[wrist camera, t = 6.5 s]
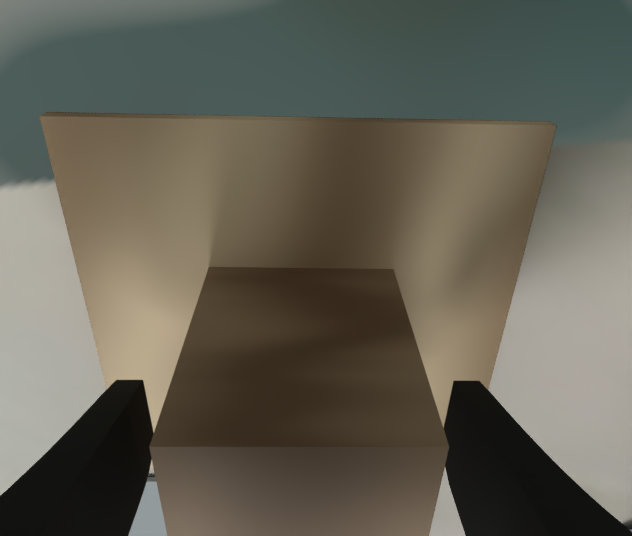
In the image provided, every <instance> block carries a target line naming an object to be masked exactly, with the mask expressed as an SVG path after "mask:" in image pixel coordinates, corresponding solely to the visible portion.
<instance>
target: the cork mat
mask: <svg viewBox="0 0 632 536" xmlns="http://www.w3.org/2000/svg"><path fill="white" fill-rule="evenodd" d="M40 121H41V125H42V129H43V133H44V137H45V141H46V145H47V149H48V153H49V157H50V161H51V165H52V169H53V174H54V178H55V182H56V186H57V190H58V194H59V198H60V202H61V206H62V210H63V214H64V218H65V222H66V226H67V230H68V234H69V238H70V242H71V246H72V250H73V255H74V259H75V263H76V267H77V271H78V275H79V279H80V283H81V287H82V291H83V295H84V299H85V303H86V307H87V311H88V315H89V319H90V323H91V327H92V331H93V336H94V340H95V344H96V348H97V352H98V356H99V360H100V364H101V368H102V372H103V376H104V380H105V384H106V388H107V389H108V388H109V387H110V386H111V384H112V383H114V382H115V381H116V380H143V382H144V387H145V392H146V397H147V402H148V407H149V412H150V417H151V422H152V428H153V433H154V431H155V428H156V425H157V422H158V419H159V416H160V413H161V410H162V407H163V404H164V401H165V398H166V395H167V392H168V389H169V386H170V383H171V380H172V377H173V374H174V371H175V368H176V365H177V362H178V359H179V356H180V353H181V350H182V346H183V343H184V340H185V337H186V334H187V331H188V328H189V325H190V322H191V319H192V316H193V313H194V310H195V307H196V304H197V301H198V298H199V295H200V292H201V289H202V286H203V283H204V280H205V277H206V274H207V271H208V268H209V267H262V268H348V269H394V273H395V276H396V279H397V282H398V285H399V288H400V292H401V295H402V298H403V301H404V304H405V308H406V311H407V314H408V317H409V320H410V323H411V327H412V330H413V333H414V336H415V339H416V343H417V346H418V349H419V352H420V355H421V358H422V362H423V365H424V368H425V371H426V374H427V378H428V381H429V384H430V387H431V390H432V394H433V397H434V400H435V403H436V406H437V409H438V413H439V416H440V419H441V422H442V425H443V428H444V423H445V419H446V414H447V409H448V405H449V400H450V395H451V391H452V386H453V381H480V382H481V383H482V384H483V385H484V386H485V387H486V388H487V390H488V388H489V384H490V381H491V377H492V373H493V369H494V365H495V361H496V358H497V354H498V350H499V346H500V342H501V338H502V335H503V331H504V327H505V323H506V319H507V315H508V312H509V308H510V304H511V300H512V296H513V292H514V289H515V285H516V281H517V277H518V273H519V269H520V266H521V262H522V258H523V254H524V250H525V246H526V243H527V239H528V235H529V231H530V227H531V223H532V220H533V216H534V212H535V208H536V204H537V200H538V197H539V193H540V189H541V185H542V181H543V177H544V174H545V170H546V166H547V162H548V158H549V154H550V151H551V147H552V143H553V139H554V135H555V131H556V128H557V125H555V124H553V123H551V122H545V121H544V122H543V121H490V120H437V119H383V118H331V117H279V116H278V117H277V116H276V117H275V116H226V115H224V116H223V115H173V114H172V115H171V114H120V113H119V114H118V113H66V112H65V113H64V112H46V113H44V114H43V115H40ZM150 468H154V467H153V462H152V460H151V465H150Z"/></svg>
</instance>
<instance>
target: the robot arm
mask: <svg viewBox="0 0 632 536" xmlns="http://www.w3.org/2000/svg"><path fill="white" fill-rule="evenodd" d="M443 429H444V432H445V435H446V438H447V441H448V444H449V450H448V454H447V459H446V463H445V467H446V471H447V476H448V481H449V485H450V488H451V491H452V495H453V498H454V501H455V504H456V507H457V510H458V513H459V516H460V519H461V522H462V525H463V528H464V531H465V534H466V536H632V530H629V529H628V528H627V527H625V526H624V525H623V524H622V523H621V522H619V521H618V520H617V519H616V518H615V517H614V516H612V515H611V514H610V513H609V512H608V511H606V510H605V509H604V508H603V507H602V506H601V505H599V504H598V503H597V502H596V501H595V500H594V499H593V498H592V497H590V496H589V495H588V494H587V493H586V492H585V491H584V490H583V489H582V488H581V487H580V486H579V485H578V484H576V483H575V482H574V481H573V480H572V479H571V478H570V477H569V476H568V475H567V474H566V473H565V472H564V471H563V470H562V469H561V468H560V467H559V466H558V465H557V464H556V463H555V462H554V461H553V460H552V459H551V458H550V457H549V456H548V455H547V454H546V453H545V452H544V451H543V450H542V449H541V448H540V447H539V446H538V445H537V444H536V442H535V441H534V440H533V439H532V438H531V437H530V436H529V435H528V434H527V433H526V432H525V431H524V430H523V429H522V428H521V426H520V425H519V424H518V423H517V422H516V421H515V420H514V419H513V418H512V416H511V415H510V414H509V413H508V412H507V411H506V410H505V409H504V408H503V406H502V405H501V404H500V403H499V402H498V401H497V400H496V399H495V397H494V396H493V395H492V394H491V393H490V392H489V391H488V390H487V388H486V387H485V386H484V385H483V384H482V383H481V382H480V381H453V386H452V391H451V395H450V400H449V405H448V409H447V414H446V419H445V423H444V428H443ZM153 434H154V433H153V428H152V422H151V417H150V412H149V407H148V402H147V397H146V392H145V387H144V382H143V380H116V381H115V382H114V383H112V384H111V386H110V387H109V388H108V389H107V390H106V391H105V392H104V393H103V394H102V395H101V396H100V397H99V398H98V399H97V401H96V402H95V403H94V404H93V405H92V406H91V407H90V408H89V409H88V410H87V411H86V412H85V413H84V414H83V416H82V417H81V418H80V419H79V420H78V421H77V422H76V423H75V424H74V425H73V426H72V427H71V428H70V429H69V430H68V431H67V432H66V433H65V434H64V435H63V436H62V437H61V438H60V439H59V440H58V441H57V442H56V443H55V444H54V445H53V447H52V448H51V449H50V450H49V451H48V452H47V453H46V454H45V455H44V456H43V457H42V458H41V459H39V460H38V461H37V462H36V463H35V464H34V465H33V466H32V467H31V468H30V469H29V470H28V471H27V472H26V473H25V474H24V475H22V476H21V477H20V478H19V479H18V480H17V481H16V482H15V483H14V484H13V485H12V486H11V487H10V488H9V489H7V490H6V491H5V492H4V493H3V494H2V495H1V496H0V536H128V535H129V532H130V529H131V527H132V524H133V521H134V518H135V515H136V512H137V509H138V506H139V504H140V501H141V498H142V495H143V492H144V489H145V486H146V482H147V478H148V473H149V469H150V465H151V460H152V458H151V453H150V448H149V446H150V443H151V440H152V437H153Z"/></svg>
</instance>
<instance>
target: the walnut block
mask: <svg viewBox="0 0 632 536" xmlns="http://www.w3.org/2000/svg"><path fill="white" fill-rule="evenodd" d="M149 448H150V453H151V458H152V462H153V467H154V472H155V477H156V482H157V487H158V492H159V497H160V502H161V507H162V512H163V517H164V522H165V527H166V532H167V536H429V533H430V528H431V524H432V519H433V515H434V511H435V506H436V502H437V498H438V493H439V489H440V485H441V480H442V476H443V472H444V467H445V463H446V459H447V454H448V450H449V444H448V441H447V438H446V435H445V432H444V429H443V425H442V422H441V419H440V416H439V413H438V409H437V406H436V403H435V400H434V397H433V394H432V390H431V387H430V384H429V381H428V378H427V374H426V371H425V368H424V365H423V362H422V358H421V355H420V352H419V349H418V346H417V343H416V339H415V336H414V333H413V330H412V327H411V323H410V320H409V317H408V314H407V311H406V308H405V304H404V301H403V298H402V295H401V292H400V288H399V285H398V282H397V279H396V276H395V273H394V269H348V268H262V267H209V268H208V271H207V274H206V277H205V280H204V283H203V286H202V289H201V292H200V295H199V298H198V301H197V304H196V307H195V310H194V313H193V316H192V319H191V322H190V325H189V328H188V331H187V334H186V337H185V340H184V343H183V346H182V350H181V353H180V356H179V359H178V362H177V365H176V368H175V371H174V374H173V377H172V380H171V383H170V386H169V389H168V392H167V395H166V398H165V401H164V404H163V407H162V410H161V413H160V416H159V419H158V422H157V425H156V428H155V431H154V434H153V437H152V440H151V443H150V446H149Z"/></svg>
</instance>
